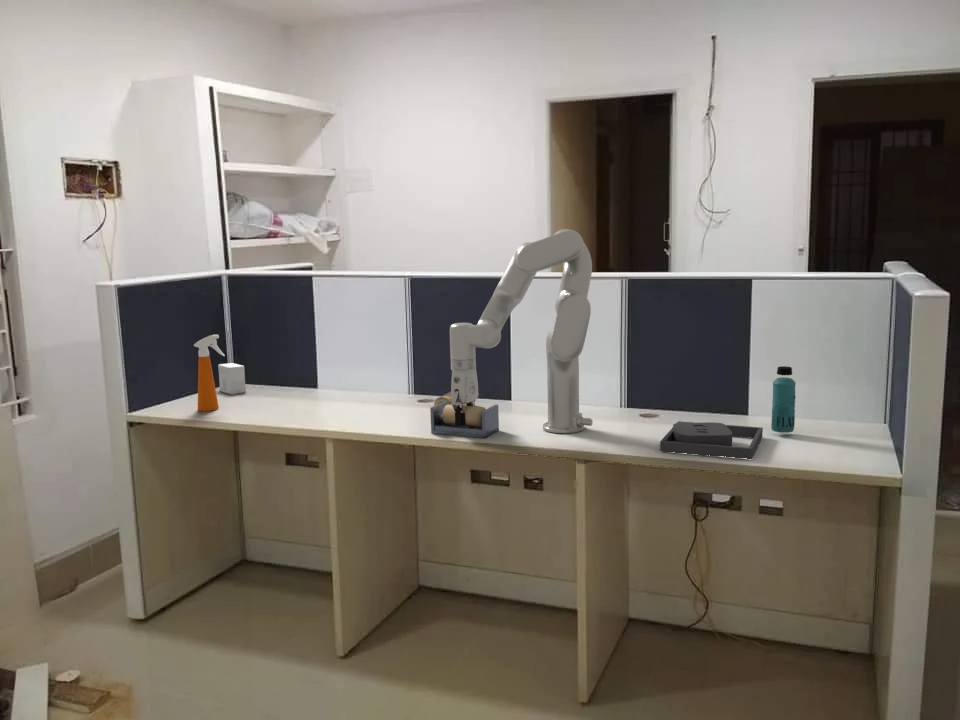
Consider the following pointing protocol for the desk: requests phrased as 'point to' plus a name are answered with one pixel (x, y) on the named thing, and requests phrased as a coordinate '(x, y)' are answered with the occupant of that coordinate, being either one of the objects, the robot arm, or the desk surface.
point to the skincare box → (231, 378)
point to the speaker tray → (716, 450)
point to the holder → (488, 426)
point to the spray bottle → (206, 374)
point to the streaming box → (702, 433)
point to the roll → (471, 415)
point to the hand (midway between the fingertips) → (465, 422)
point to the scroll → (445, 399)
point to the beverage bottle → (783, 402)
